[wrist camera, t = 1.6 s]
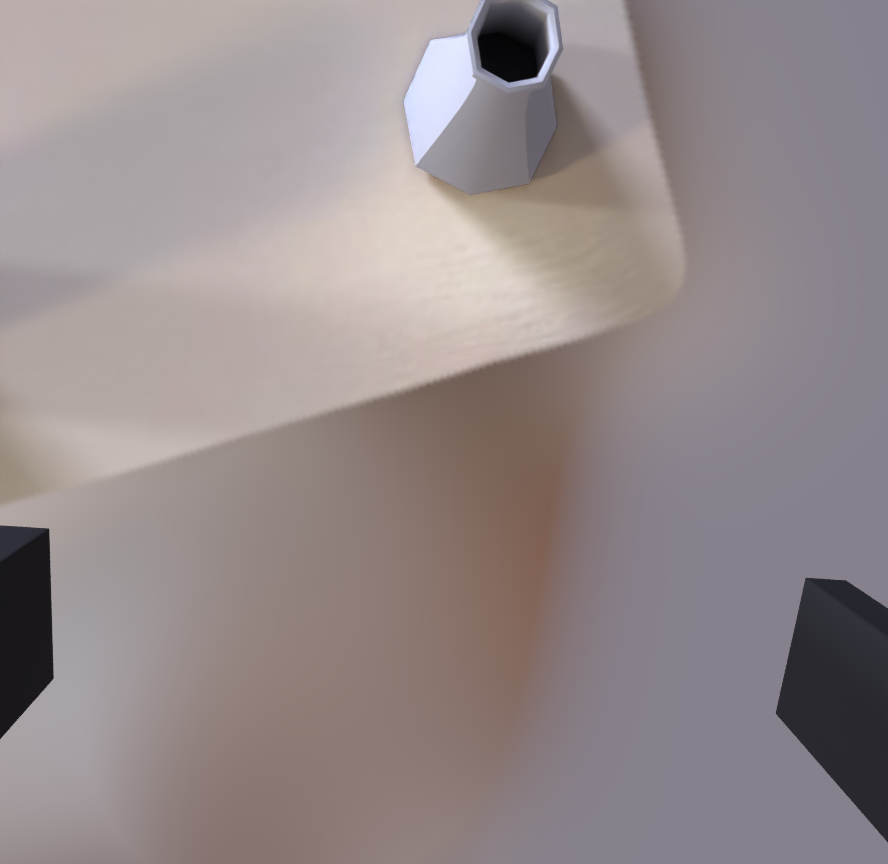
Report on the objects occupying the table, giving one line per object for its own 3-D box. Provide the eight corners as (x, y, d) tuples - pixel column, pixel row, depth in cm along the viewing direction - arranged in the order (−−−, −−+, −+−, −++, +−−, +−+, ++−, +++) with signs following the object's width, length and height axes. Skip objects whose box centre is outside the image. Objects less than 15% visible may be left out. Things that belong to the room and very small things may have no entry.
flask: (569, 44, 31) (645, -66, 21) (543, 207, 33) (603, 174, 23) (413, 17, 31) (418, -109, 21) (394, 184, 32) (390, 140, 22)
